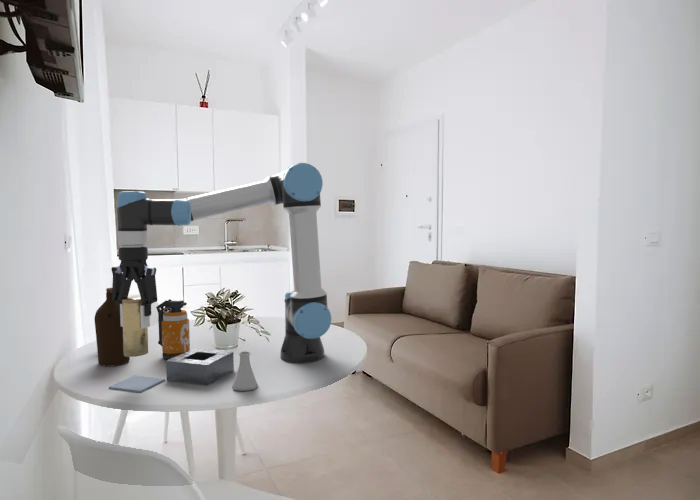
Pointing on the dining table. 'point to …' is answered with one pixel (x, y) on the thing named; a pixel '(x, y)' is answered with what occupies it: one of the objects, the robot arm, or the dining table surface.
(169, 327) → the canister
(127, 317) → the gold metal cylinder
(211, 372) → the box
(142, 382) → the mat
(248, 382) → the flask
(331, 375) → the dining table surface
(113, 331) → the olive oil
